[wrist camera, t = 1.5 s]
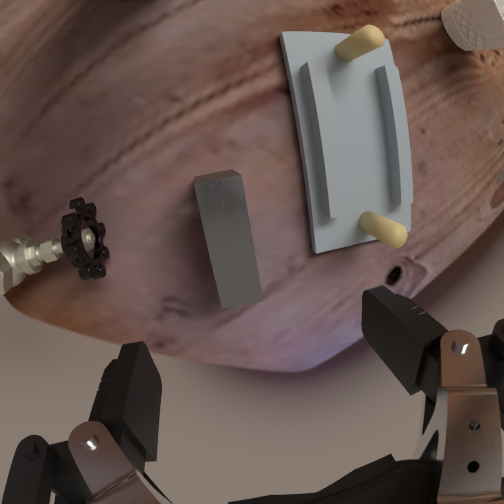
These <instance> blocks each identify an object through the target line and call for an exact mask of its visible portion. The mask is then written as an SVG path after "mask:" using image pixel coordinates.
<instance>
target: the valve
mask: <svg viewBox="0 0 504 504" xmlns="http://www.w3.org/2000/svg"><path fill="white" fill-rule="evenodd" d="M69 207H70V209H73V208H75V210H76V213H70V214H67V215H64V216H63V217H62V220H61V222H62V226H63V227H62V237H61V241H59V240H58V239H57V238H56V237H55V238H52V239H49V240H46V241H44V242H43V243H41V244H40V243H38V241H37V240H35V239H33V238H29V237H28V236H27V235H26V234H25V235H22V236H20V237H17V238H15V239H13V240H7V241H3V242H1V243H0V296H1V295H3V294H5V293H6V292H7V291H8V290H9V289H11V288H12V287H14V286H17V285H18V284H20V283H21V282H22V281H23V280H24V278H25V277H26V275H27V274H34V273H38V272H40V271H41V270H42V268H43V265H44V262H46V263H48V262H52V261H55V260H58V259H59V258H60V257H61V256H62V253H64V254H65V255H66V256H67V258H68V259H69V260H71V262H72V264H73V265H74V266H75V267H76V268H79V270H78V272H79V276H80V278H81V279H82V280H87V279H91V278H94V279H98V278H102V277H105V276H106V268H105V266H104V264H102V260H106V259H109V250H108V248H107V247H106V246H104V245H103V241H102V235H105V233H106V230H105V226H104V224H103V223H102V222H101V223H97V221H96V219H95V215H96V212H97V211H96V206H95V204H94V203H89V204H85V201H84V199H83V198H82V197H79V198H76V199H74V200H71V201H70V204H69ZM83 220H85V221H86V222H87V224H88V225H89V227H90V229H91V230H90V229H89V228H86V229H82V230H81V225H82V221H83ZM69 229H71V231H69ZM93 247H95V250H94V256H93V259H92V258H91V257H90V256H89V255H88V254H87V252H86V251H89V250H91V249H92V248H93ZM78 258H79V259H78ZM79 260H80V261H81V262H80V261H79Z"/></svg>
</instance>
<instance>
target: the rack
mask: <svg viewBox="0 0 504 504" xmlns="http://www.w3.org/2000/svg"><path fill="white" fill-rule="evenodd" d="M279 38H280V43H281V47H282V52H283V57H284V61H285V66H286V71H287V76H288V82H289V87H290V92H291V98H292V103H293V109H294V115H295V121H296V127H297V133H298V139H299V146H300V152H301V159H302V166H303V174H304V181H305V189H306V197H307V205H308V213H309V222H310V232H311V242H312V250H313V251H314V252H315V253H321V252H325V251H329V250H334V249H338V248H342V247H346V246H351V245H355V244H359V243H363V242H367V241H372V240H376V239H378V240H380V241H382V242H383V243H385V244H387V245H389V246H390V247H392V248H394V249H398V248H400V247H402V246H403V245H404V243H405V242H406V239H407V232H409V231H411V203H413V183H412V166H411V153H410V142H409V133H408V125H407V117H406V110H405V104H404V98H403V92H402V86H401V81H400V76H399V71H398V67H396V66H395V65H394V61H393V56H392V52H391V48H390V44H389V40H388V39H384V36H383V34H382V32H381V31H380V30H379V29H378V28H377V27H375V26H373V25H366V26H364V27H363V28H361V29H360V30H358V31H356V32H355V33H353V34H341V33H327V32H281V34H280V35H279Z"/></svg>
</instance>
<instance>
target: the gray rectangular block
mask: <svg viewBox="0 0 504 504" xmlns="http://www.w3.org/2000/svg"><path fill="white" fill-rule="evenodd" d="M194 188H195V193H196V197H197V202H198V207H199V212H200V216H201V221H202V225H203V230H204V234H205V239H206V243H207V247H208V252H209V256H210V260H211V265H212V269H213V273H214V277H215V281H216V285H217V289H218V293H219V297H220V301H221V305H222V309H226V308H230V307H235V306H239V305H244V304H248V303H253V302H257V301H261V300H263V297H262V291H261V285H260V279H259V273H258V268H257V262H256V256H255V251H254V245H253V239H252V233H251V228H250V222H249V216H248V210H247V205H246V199H245V193H244V188H243V182H242V176H241V174H239V173H238V172H236V171H234V170H232V169H231V170H226V171H221V172H216V173H211V174H206V175H201V176H197V177H196V178H195V182H194Z"/></svg>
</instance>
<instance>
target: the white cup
mask: <svg viewBox="0 0 504 504" xmlns="http://www.w3.org/2000/svg"><path fill="white" fill-rule="evenodd" d="M441 20H442V22H443V25H444V28H445V30H446V32H447V33H448V35H449V37H450V38H451V40H452V41H453V42H454V43H455V44H456V45H457V46H458V47H459V48H461V49H463V50H465V51H472V50H494V49H504V0H457V1H456V2H455V3H452V4H450V5H447V6H445V7H444V8H443V9H442V10H441Z"/></svg>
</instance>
